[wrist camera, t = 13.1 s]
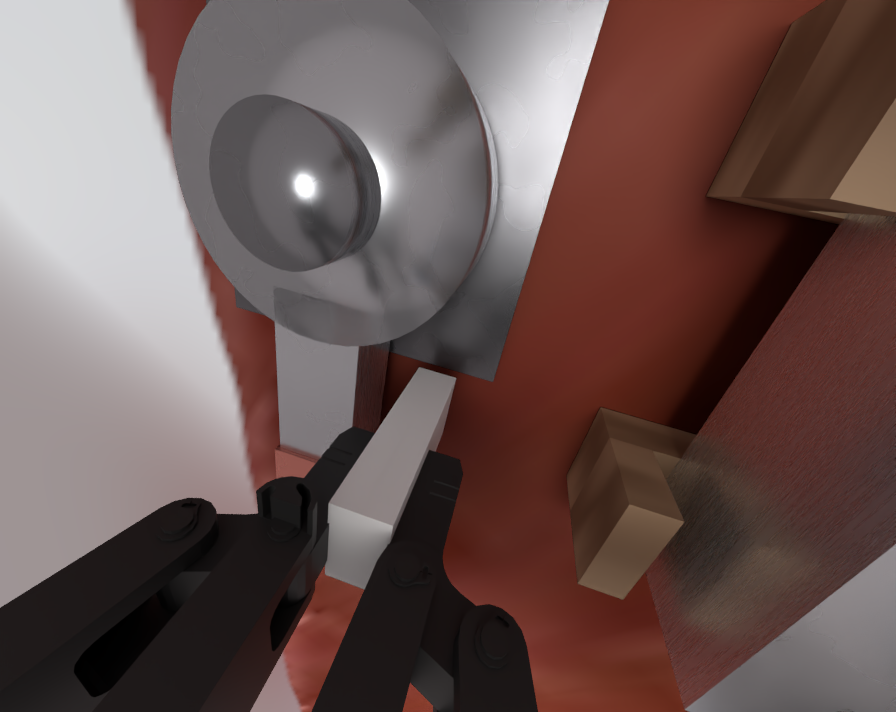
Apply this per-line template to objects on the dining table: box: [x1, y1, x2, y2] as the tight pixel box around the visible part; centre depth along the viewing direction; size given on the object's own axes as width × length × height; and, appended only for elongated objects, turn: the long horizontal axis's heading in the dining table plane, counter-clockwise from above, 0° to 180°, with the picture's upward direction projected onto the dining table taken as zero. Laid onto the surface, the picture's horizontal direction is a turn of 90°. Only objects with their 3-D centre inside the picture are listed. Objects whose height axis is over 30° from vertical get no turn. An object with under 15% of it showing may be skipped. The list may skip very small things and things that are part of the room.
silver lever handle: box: [171, 0, 498, 479], centre depth 12 cm, size 17×9×5 cm, turn 168°
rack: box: [566, 0, 896, 600], centre depth 10 cm, size 16×9×5 cm, turn 168°
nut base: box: [206, 0, 609, 382], centre depth 12 cm, size 12×12×1 cm
